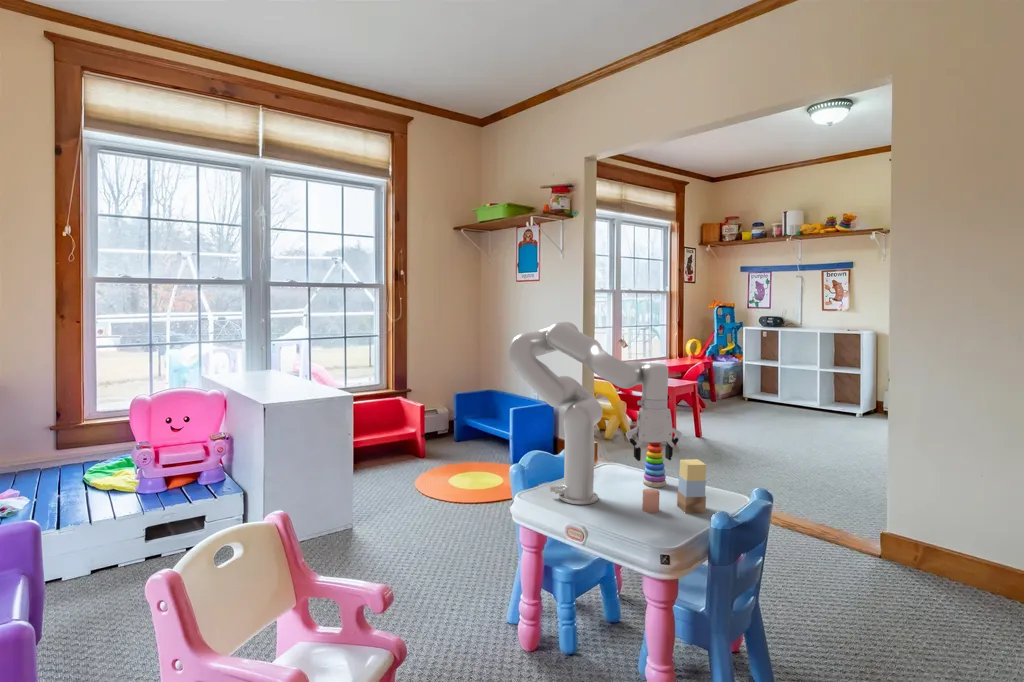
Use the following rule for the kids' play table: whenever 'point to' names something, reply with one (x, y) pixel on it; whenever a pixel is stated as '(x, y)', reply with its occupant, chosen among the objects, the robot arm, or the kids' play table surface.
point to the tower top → (692, 470)
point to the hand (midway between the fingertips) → (653, 459)
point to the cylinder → (650, 501)
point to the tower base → (691, 503)
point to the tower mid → (692, 488)
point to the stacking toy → (654, 466)
